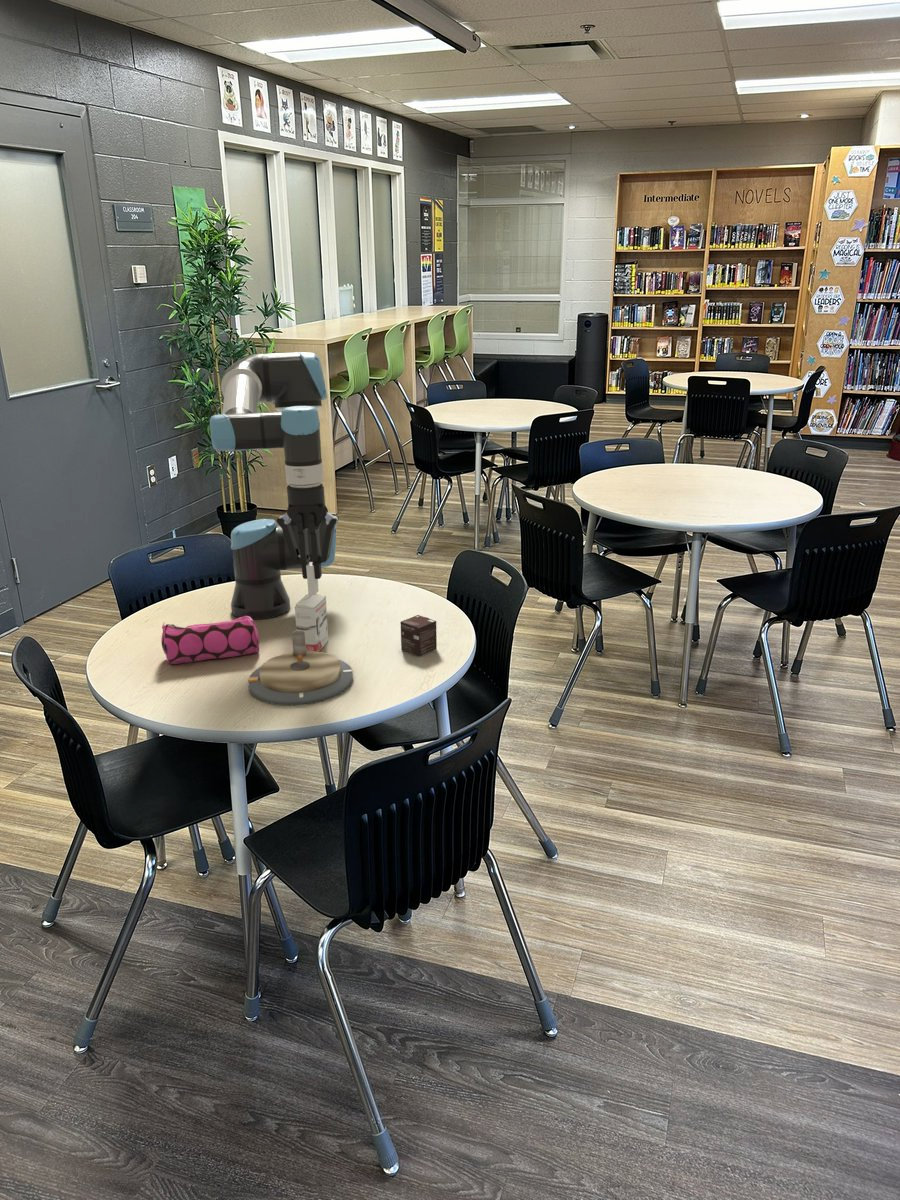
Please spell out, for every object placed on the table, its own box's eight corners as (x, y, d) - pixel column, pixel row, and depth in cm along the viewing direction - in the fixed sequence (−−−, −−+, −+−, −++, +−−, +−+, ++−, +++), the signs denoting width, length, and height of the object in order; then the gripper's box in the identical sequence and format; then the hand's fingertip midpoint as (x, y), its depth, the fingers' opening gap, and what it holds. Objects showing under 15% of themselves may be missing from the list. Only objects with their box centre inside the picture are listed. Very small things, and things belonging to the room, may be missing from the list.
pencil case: (165, 673, 196) (159, 631, 193) (163, 657, 205) (157, 616, 202) (263, 658, 203) (258, 617, 200) (257, 643, 212) (253, 604, 208)
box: (400, 651, 205) (399, 621, 203) (419, 643, 209) (418, 614, 207) (419, 657, 201) (418, 627, 199) (437, 650, 205) (436, 620, 203)
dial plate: (251, 666, 199) (250, 658, 198) (349, 657, 202) (349, 650, 201) (246, 709, 178) (245, 701, 178) (356, 699, 182) (355, 691, 181)
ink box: (317, 655, 204) (313, 606, 200) (296, 654, 205) (292, 605, 201) (329, 641, 212) (326, 594, 208) (309, 640, 213) (306, 593, 209)
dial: (261, 663, 196) (258, 633, 194) (338, 656, 199) (336, 627, 196) (258, 696, 180) (255, 664, 178) (342, 688, 183) (340, 657, 181)
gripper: (268, 487, 179) (278, 598, 187) (331, 487, 178) (339, 599, 186) (279, 480, 186) (288, 586, 194) (340, 480, 185) (347, 587, 193)
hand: (313, 592), depth 190 cm, fingers closed
